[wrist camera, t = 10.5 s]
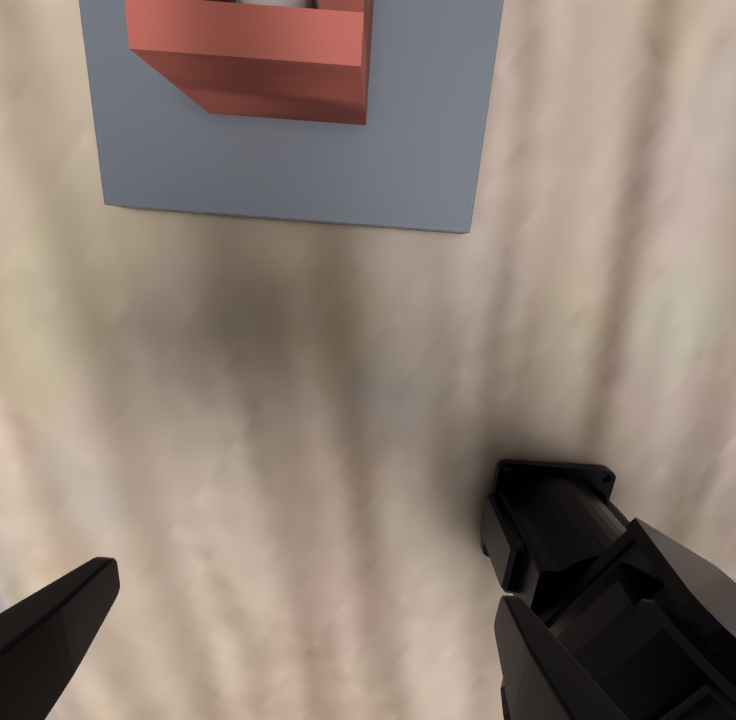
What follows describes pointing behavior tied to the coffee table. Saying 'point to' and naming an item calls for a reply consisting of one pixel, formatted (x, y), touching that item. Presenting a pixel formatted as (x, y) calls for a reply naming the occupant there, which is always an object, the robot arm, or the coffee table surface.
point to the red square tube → (260, 55)
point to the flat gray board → (307, 128)
